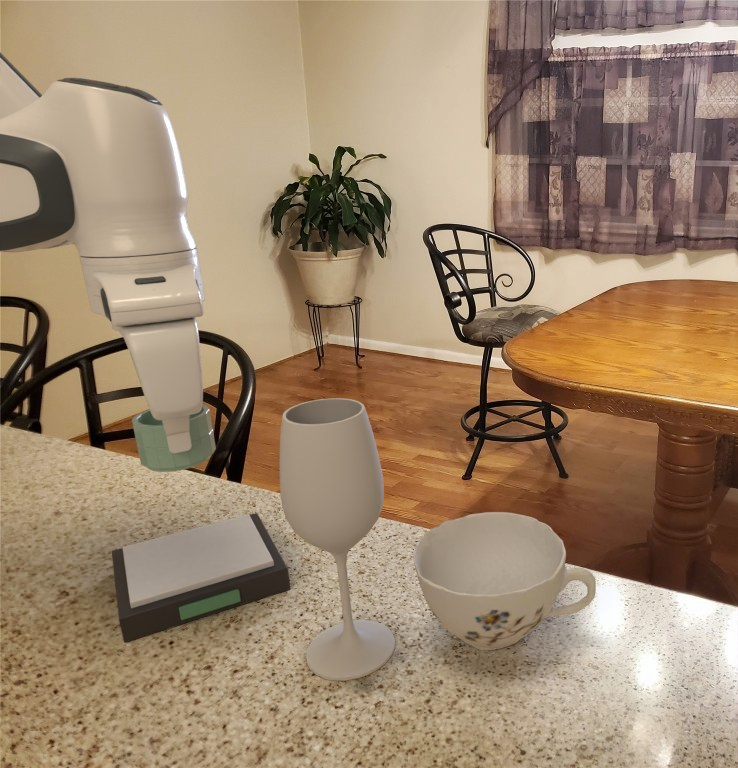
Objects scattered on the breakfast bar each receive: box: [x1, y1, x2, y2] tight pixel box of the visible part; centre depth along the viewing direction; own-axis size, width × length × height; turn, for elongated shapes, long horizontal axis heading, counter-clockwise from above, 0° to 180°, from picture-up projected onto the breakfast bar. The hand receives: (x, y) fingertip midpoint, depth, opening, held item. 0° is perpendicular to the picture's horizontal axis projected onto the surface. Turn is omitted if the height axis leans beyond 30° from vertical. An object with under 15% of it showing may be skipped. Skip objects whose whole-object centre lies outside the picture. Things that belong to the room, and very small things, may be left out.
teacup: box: [413, 511, 597, 651], centre depth 57 cm, size 15×12×8 cm
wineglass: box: [279, 397, 396, 681], centre depth 54 cm, size 8×8×21 cm
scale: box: [111, 512, 291, 643], centre depth 66 cm, size 14×13×3 cm
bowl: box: [131, 403, 217, 473], centre depth 63 cm, size 6×6×4 cm
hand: (175, 436), depth 63 cm, fingers closed on bowl, 6 cm apart
